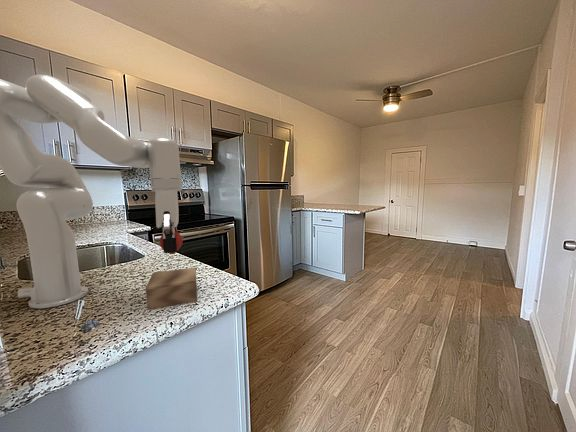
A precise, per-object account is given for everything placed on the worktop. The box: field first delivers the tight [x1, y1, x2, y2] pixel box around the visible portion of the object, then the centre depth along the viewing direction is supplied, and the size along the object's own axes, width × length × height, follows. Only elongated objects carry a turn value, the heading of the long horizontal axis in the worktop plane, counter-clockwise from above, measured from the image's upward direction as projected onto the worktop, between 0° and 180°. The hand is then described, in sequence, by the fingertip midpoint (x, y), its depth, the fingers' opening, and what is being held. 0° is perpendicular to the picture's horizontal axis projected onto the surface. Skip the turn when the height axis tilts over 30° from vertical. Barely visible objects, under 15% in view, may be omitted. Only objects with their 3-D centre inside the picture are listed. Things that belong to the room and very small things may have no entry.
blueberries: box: [70, 318, 101, 334], centre depth 56 cm, size 7×8×2 cm
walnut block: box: [145, 266, 198, 311], centre depth 71 cm, size 12×12×6 cm
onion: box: [159, 229, 184, 255], centre depth 69 cm, size 6×6×8 cm
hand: (171, 249), depth 69 cm, fingers closed on onion, 5 cm apart
